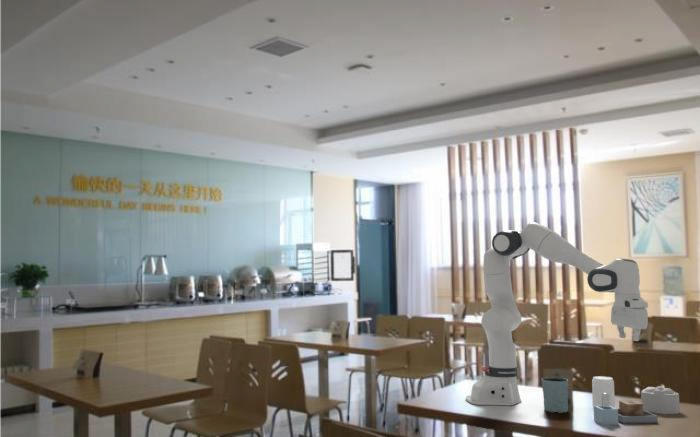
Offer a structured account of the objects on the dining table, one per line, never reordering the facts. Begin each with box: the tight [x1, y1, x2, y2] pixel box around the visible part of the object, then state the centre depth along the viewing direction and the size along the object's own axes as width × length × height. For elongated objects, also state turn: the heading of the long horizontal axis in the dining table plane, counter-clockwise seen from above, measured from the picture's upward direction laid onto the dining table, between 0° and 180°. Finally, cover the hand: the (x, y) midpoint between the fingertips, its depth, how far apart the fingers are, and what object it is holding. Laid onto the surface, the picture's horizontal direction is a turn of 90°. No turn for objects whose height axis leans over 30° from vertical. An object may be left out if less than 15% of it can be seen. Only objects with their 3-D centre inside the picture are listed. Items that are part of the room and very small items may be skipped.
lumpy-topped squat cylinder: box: [640, 386, 681, 415], centre depth 244 cm, size 10×13×9 cm
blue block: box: [593, 406, 619, 426], centre depth 226 cm, size 6×6×6 cm
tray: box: [617, 408, 659, 425], centre depth 230 cm, size 13×12×2 cm
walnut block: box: [618, 400, 644, 416], centre depth 230 cm, size 6×6×6 cm
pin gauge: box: [601, 393, 610, 409], centre depth 226 cm, size 3×3×9 cm
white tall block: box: [591, 375, 616, 408], centre depth 247 cm, size 8×8×12 cm
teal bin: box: [541, 376, 569, 414], centre depth 245 cm, size 10×10×12 cm
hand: (629, 339), depth 232 cm, fingers open, 8 cm apart
